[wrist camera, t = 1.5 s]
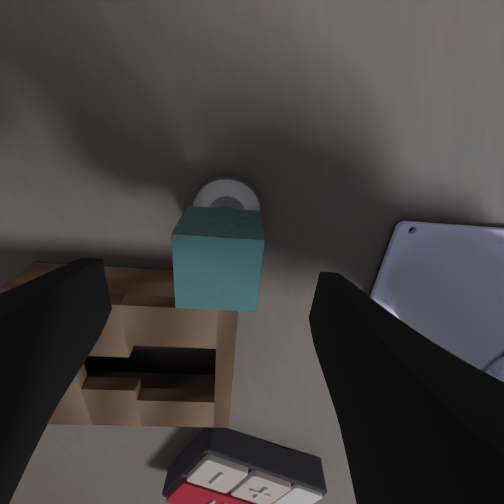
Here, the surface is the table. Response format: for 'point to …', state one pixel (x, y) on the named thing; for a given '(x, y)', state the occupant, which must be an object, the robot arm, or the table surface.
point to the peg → (219, 247)
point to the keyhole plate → (149, 334)
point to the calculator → (242, 472)
